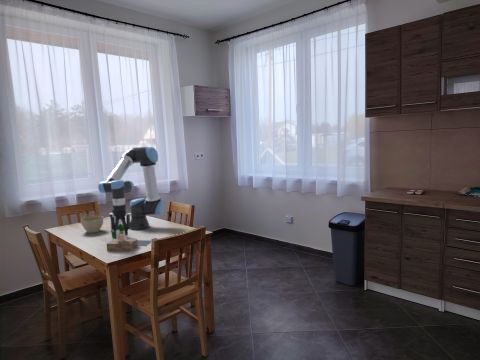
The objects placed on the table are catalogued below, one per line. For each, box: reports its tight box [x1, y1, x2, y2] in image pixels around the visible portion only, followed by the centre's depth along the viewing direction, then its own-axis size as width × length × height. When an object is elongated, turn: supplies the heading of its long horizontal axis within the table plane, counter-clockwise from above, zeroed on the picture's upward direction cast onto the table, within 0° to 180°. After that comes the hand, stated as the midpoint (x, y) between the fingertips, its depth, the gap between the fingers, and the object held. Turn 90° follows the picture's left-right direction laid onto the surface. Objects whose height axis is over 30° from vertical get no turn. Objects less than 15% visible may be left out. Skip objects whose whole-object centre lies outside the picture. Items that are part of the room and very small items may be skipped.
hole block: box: [106, 238, 139, 252], centre depth 216 cm, size 10×16×5 cm, turn 81°
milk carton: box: [109, 209, 124, 240], centre depth 242 cm, size 9×9×20 cm
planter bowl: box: [80, 215, 104, 234], centre depth 260 cm, size 16×16×11 cm
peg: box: [119, 234, 124, 243], centre depth 216 cm, size 3×3×10 cm
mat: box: [137, 239, 152, 247], centre depth 226 cm, size 12×12×1 cm
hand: (122, 239), depth 215 cm, fingers open, 4 cm apart
